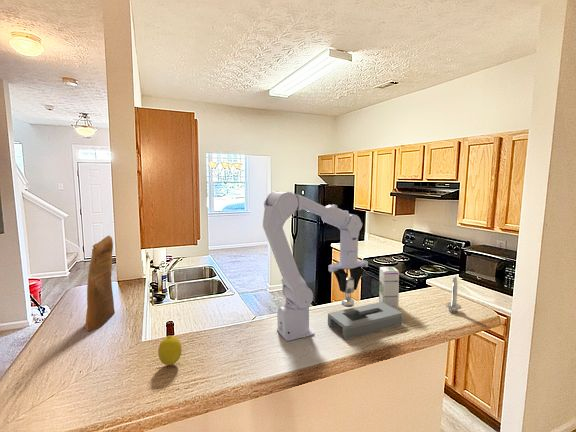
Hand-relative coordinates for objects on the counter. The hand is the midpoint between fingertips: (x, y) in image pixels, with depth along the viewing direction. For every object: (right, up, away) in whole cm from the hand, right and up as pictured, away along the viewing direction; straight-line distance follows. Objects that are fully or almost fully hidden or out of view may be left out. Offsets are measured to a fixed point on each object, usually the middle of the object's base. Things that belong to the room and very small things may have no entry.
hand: (348, 290), depth 101 cm
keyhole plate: (+5, -11, -2) cm, 12 cm away
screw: (+39, -10, +7) cm, 41 cm away
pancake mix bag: (-83, -11, +2) cm, 84 cm away
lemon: (-50, -14, -24) cm, 57 cm away
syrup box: (+17, -9, +12) cm, 23 cm away
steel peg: (0, -5, +1) cm, 5 cm away
